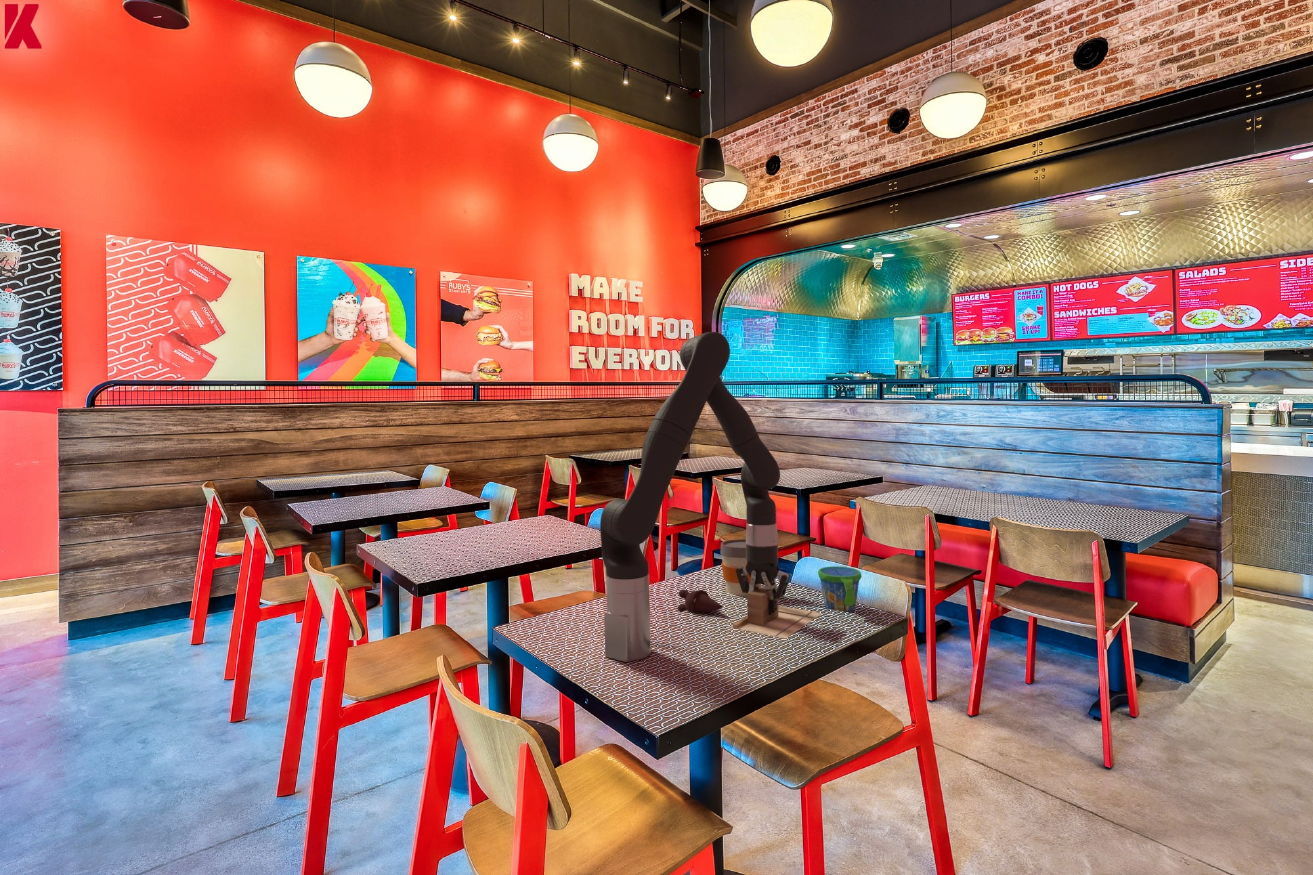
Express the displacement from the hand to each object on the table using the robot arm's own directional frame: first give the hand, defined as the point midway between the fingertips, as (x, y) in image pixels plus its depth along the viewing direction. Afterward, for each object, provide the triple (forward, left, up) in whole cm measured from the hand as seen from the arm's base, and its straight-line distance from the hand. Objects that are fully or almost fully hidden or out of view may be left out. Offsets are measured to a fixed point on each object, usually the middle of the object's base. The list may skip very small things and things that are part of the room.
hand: (763, 612), depth 152 cm
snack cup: (+22, -11, -4) cm, 24 cm away
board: (+2, -3, -3) cm, 5 cm away
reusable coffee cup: (+20, +16, -4) cm, 26 cm away
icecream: (-2, +17, -4) cm, 18 cm away
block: (0, 0, -2) cm, 2 cm away
